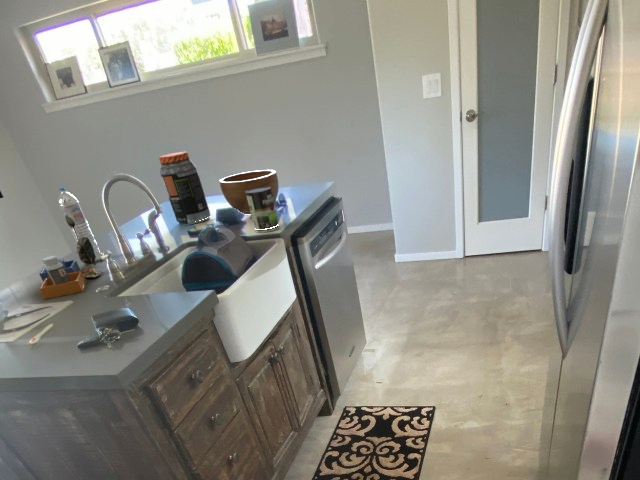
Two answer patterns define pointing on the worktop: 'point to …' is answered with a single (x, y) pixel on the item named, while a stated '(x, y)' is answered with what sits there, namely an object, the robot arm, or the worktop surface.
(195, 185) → the supplement tub
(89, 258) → the plant with pod
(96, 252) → the water bottle
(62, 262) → the blue block
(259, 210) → the coffee can
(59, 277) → the pill bottle
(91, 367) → the worktop surface
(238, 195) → the bowl
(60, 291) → the amber bin
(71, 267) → the blue bin
